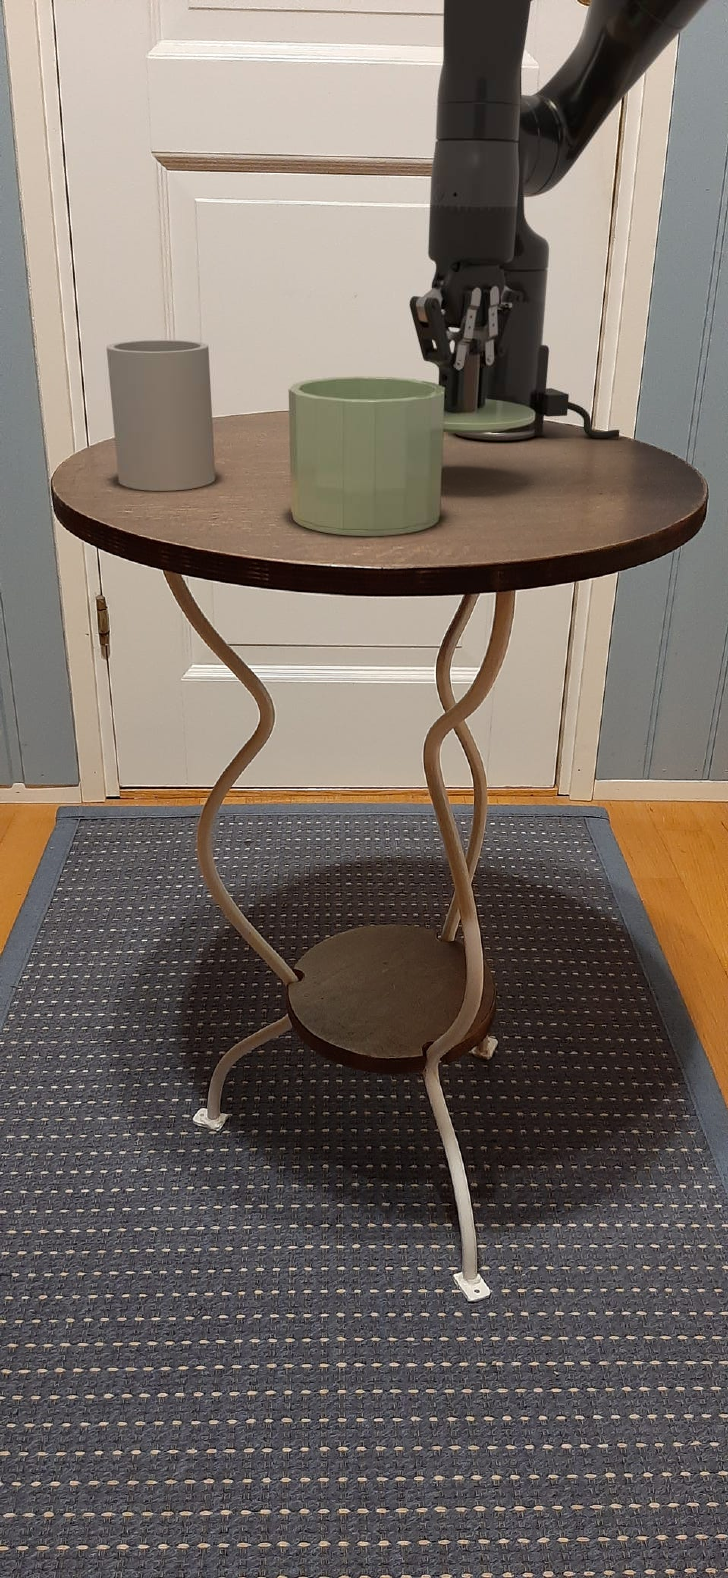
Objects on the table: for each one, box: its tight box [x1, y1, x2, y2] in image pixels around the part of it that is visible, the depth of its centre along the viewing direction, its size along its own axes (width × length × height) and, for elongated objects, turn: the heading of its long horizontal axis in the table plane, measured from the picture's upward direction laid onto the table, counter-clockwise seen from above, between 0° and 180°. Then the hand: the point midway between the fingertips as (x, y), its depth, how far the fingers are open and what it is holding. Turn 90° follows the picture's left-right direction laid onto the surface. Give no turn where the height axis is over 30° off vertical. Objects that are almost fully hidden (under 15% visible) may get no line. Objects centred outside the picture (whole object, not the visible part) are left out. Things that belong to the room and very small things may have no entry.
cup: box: [106, 339, 216, 492], centre depth 107 cm, size 9×9×12 cm
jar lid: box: [443, 351, 535, 434], centre depth 106 cm, size 14×14×6 cm
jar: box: [288, 375, 445, 537], centre depth 96 cm, size 13×13×10 cm
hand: (462, 408), depth 107 cm, fingers closed on jar lid, 3 cm apart
